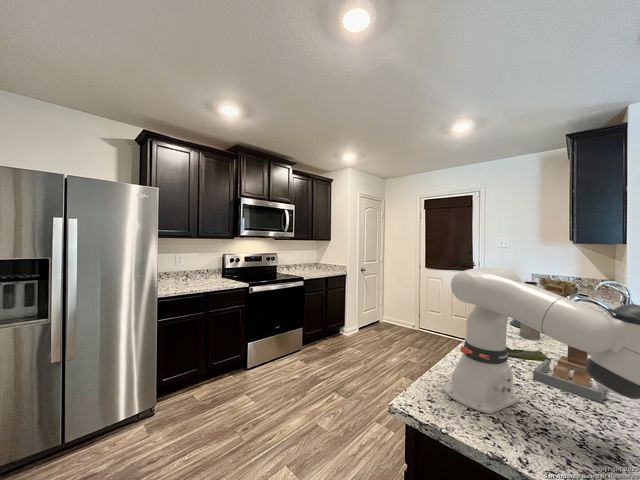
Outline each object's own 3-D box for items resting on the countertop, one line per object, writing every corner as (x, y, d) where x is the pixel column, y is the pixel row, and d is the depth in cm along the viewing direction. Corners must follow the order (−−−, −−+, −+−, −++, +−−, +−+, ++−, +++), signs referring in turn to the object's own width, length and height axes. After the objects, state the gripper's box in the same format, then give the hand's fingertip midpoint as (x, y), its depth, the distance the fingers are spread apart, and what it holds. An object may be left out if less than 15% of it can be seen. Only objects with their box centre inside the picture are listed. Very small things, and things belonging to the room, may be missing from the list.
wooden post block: (594, 376, 95) (594, 337, 95) (557, 365, 103) (558, 329, 103) (597, 370, 100) (598, 333, 100) (562, 360, 108) (563, 326, 108)
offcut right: (589, 387, 88) (589, 378, 88) (572, 382, 91) (572, 373, 91) (590, 384, 90) (591, 375, 90) (574, 378, 93) (575, 370, 93)
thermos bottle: (542, 341, 128) (544, 283, 128) (523, 338, 131) (524, 282, 131) (536, 335, 135) (537, 281, 135) (517, 333, 138) (518, 280, 138)
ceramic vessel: (593, 295, 202) (581, 270, 197) (576, 317, 197) (564, 292, 191) (558, 289, 224) (546, 266, 218) (542, 308, 218) (530, 286, 212)
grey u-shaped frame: (601, 403, 79) (601, 393, 79) (533, 379, 92) (533, 370, 92) (608, 386, 88) (608, 377, 88) (545, 366, 102) (545, 359, 102)
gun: (531, 349, 120) (553, 365, 106) (485, 344, 124) (500, 359, 109) (531, 343, 120) (553, 358, 105) (485, 338, 124) (500, 353, 109)
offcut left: (568, 381, 92) (568, 372, 92) (553, 376, 95) (553, 367, 95) (570, 377, 94) (570, 369, 94) (555, 372, 97) (555, 364, 97)
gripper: (647, 381, 82) (584, 363, 93) (650, 363, 94) (594, 350, 105) (647, 360, 82) (584, 345, 93) (650, 345, 94) (594, 334, 105)
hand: (590, 348), depth 99 cm, fingers open, 8 cm apart
